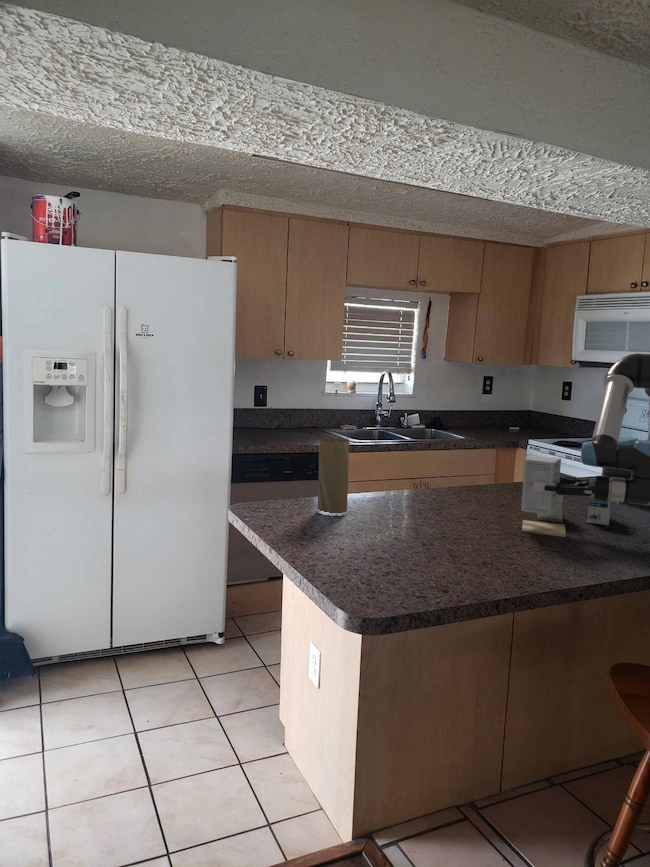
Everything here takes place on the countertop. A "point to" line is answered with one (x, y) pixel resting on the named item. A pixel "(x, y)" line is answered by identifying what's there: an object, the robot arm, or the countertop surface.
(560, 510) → the unit
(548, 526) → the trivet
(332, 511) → the tube
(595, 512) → the light bulb box
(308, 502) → the countertop surface
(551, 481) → the supplement box
